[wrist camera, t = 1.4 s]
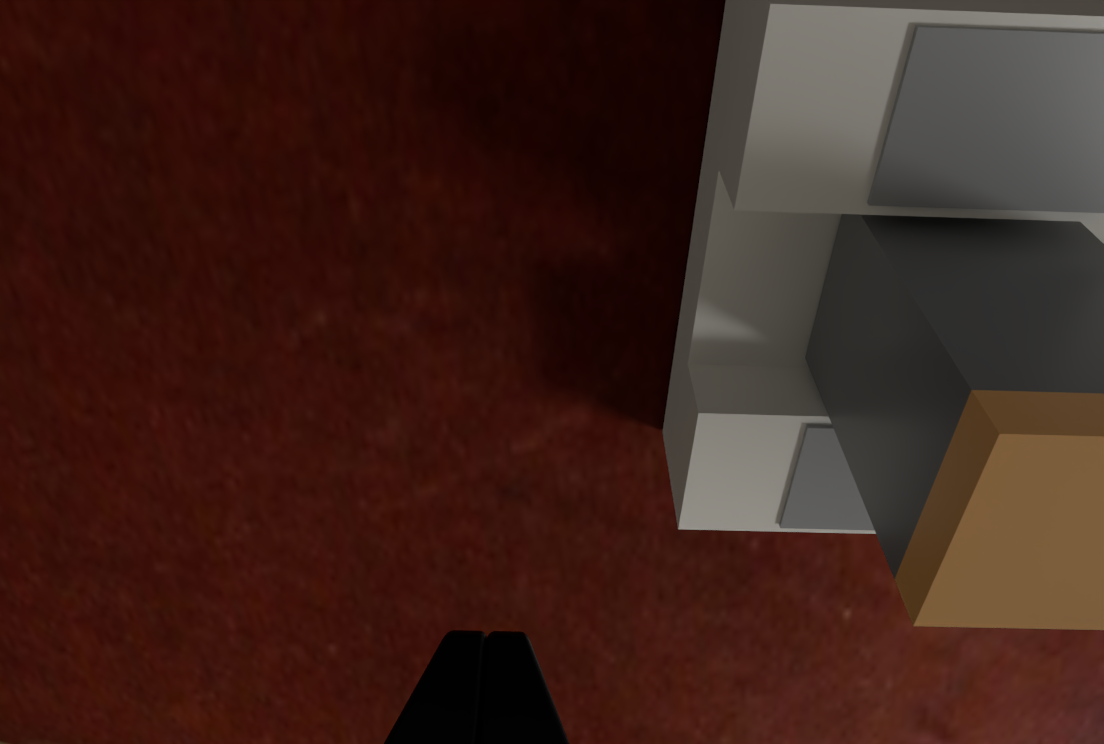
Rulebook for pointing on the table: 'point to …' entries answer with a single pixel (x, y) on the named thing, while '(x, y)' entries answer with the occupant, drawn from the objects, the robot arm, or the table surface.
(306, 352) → the table surface
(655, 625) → the table surface
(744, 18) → the switch plate
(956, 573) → the switch tab
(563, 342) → the table surface
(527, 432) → the table surface
